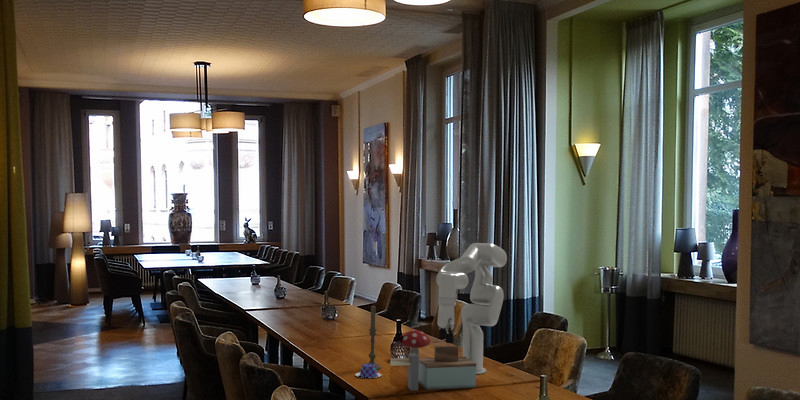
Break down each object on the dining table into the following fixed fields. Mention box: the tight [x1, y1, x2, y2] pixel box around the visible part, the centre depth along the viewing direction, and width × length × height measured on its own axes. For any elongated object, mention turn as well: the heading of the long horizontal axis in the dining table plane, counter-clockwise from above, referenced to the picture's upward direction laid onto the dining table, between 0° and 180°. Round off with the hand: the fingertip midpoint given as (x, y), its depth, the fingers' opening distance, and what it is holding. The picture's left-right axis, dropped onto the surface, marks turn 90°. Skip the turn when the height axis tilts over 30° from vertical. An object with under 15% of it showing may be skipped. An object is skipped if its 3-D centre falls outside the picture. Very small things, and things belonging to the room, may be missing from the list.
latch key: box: [389, 357, 411, 367], centre depth 311 cm, size 2×12×2 cm, turn 104°
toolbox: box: [407, 353, 477, 392], centre depth 320 cm, size 15×29×14 cm, turn 104°
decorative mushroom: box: [401, 329, 432, 357], centre depth 371 cm, size 16×16×15 cm
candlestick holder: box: [366, 304, 383, 371], centre depth 351 cm, size 9×9×30 cm
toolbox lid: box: [419, 345, 476, 368], centre depth 321 cm, size 14×22×8 cm, turn 104°
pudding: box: [354, 363, 382, 379], centre depth 335 cm, size 12×12×5 cm
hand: (446, 340), depth 322 cm, fingers open, 9 cm apart
